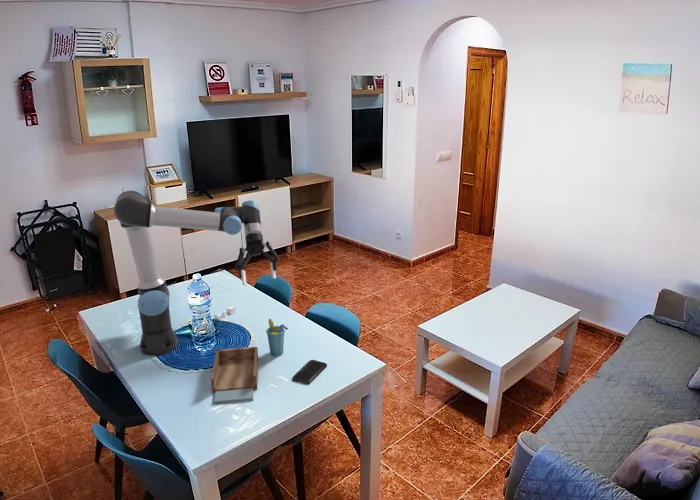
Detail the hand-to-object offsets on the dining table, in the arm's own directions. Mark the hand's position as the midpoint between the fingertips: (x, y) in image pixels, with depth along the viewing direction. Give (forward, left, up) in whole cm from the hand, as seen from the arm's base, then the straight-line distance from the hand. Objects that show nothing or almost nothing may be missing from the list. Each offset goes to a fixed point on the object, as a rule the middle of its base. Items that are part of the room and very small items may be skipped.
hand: (259, 281), depth 217 cm
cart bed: (-10, -31, -26) cm, 41 cm away
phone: (+18, -33, -26) cm, 46 cm away
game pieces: (-18, +22, -26) cm, 39 cm away
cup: (+6, -17, -26) cm, 32 cm away
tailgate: (-10, -42, -26) cm, 50 cm away
